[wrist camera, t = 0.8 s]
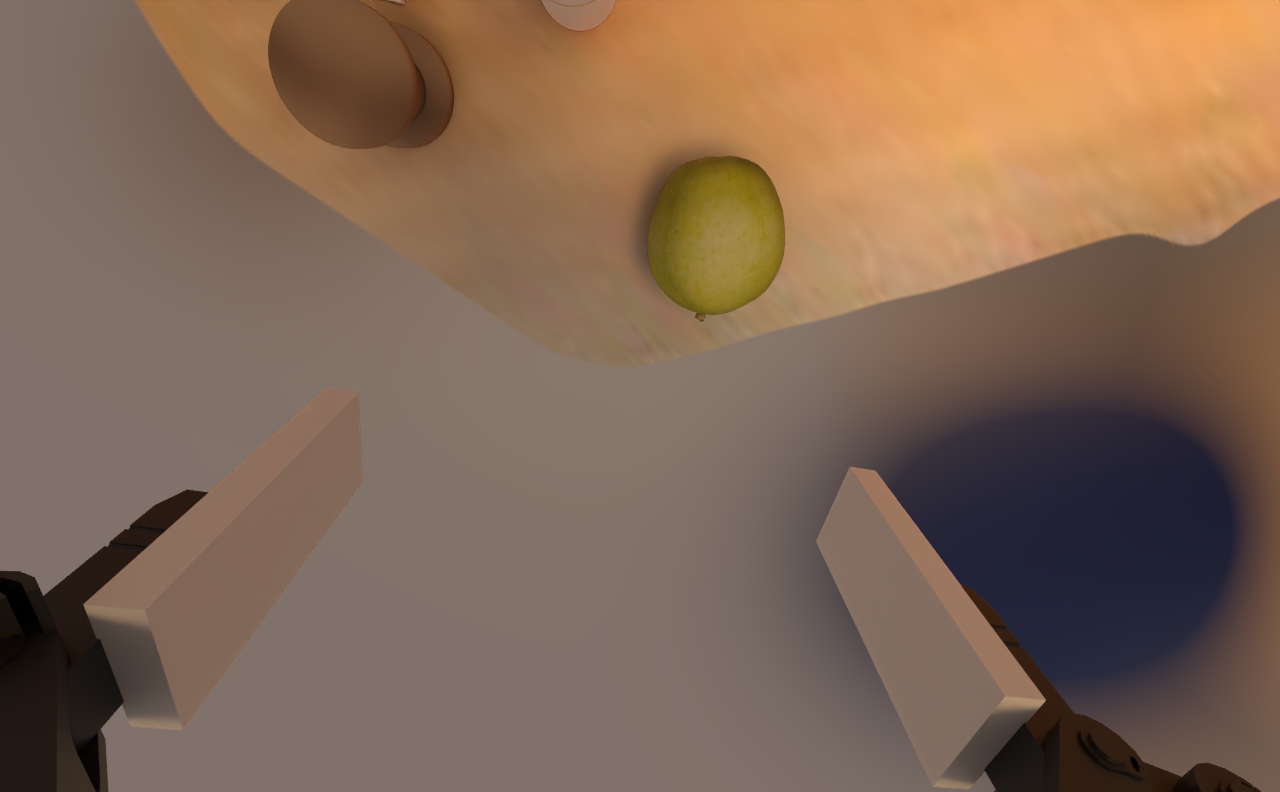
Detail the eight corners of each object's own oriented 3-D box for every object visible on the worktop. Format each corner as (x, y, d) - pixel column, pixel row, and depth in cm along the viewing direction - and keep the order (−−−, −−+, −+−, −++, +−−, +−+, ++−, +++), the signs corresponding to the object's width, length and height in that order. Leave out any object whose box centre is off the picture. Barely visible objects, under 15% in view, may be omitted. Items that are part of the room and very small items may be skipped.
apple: (646, 305, 36) (654, 346, 28) (640, 158, 32) (648, 162, 24) (760, 298, 36) (797, 337, 29) (769, 151, 32) (814, 154, 25)
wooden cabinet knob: (342, 11, 28) (262, -28, 22) (457, 40, 29) (412, 11, 22) (344, 134, 30) (273, 131, 24) (450, 158, 31) (408, 162, 25)
